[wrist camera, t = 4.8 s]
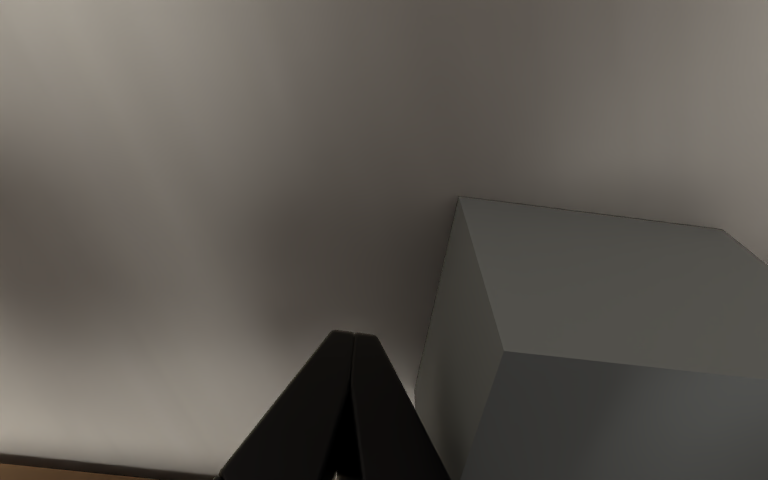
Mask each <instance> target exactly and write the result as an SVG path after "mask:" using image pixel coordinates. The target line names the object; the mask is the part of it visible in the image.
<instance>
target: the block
mask: <svg viewBox="0 0 768 480" xmlns="http://www.w3.org/2000/svg"><path fill="white" fill-rule="evenodd" d="M414 394H415V410H416V412H417V414H418V416H419V418H420V420H421V422H422V424H423V426H424V428H425V430H426V432H427V434H428V435H429V437H430V439H431V441H432V443H433V445H434V447H435V449H436V451H437V453H438V455H439V457H440V459H441V461H442V462H443V464H444V466H445V468H446V470H447V472H448V474H449V476H450V478H451V480H768V265H766V264H765V263H764V262H763V261H761V260H760V259H759V258H758V257H756V256H755V255H754V254H753V253H751V252H750V251H749V250H747V249H746V248H745V247H744V246H742V245H741V244H740V243H739V242H737V241H736V240H735V239H734V238H732V237H731V236H730V235H729V234H727V233H726V232H725V231H724V230H721V229H713V228H705V227H697V226H689V225H681V224H673V223H665V222H658V221H650V220H642V219H634V218H626V217H618V216H610V215H602V214H594V213H586V212H578V211H570V210H563V209H555V208H547V207H539V206H531V205H523V204H515V203H507V202H499V201H491V200H483V199H475V198H468V197H460V196H459V198H458V202H457V207H456V211H455V215H454V220H453V224H452V228H451V233H450V237H449V242H448V246H447V250H446V255H445V259H444V263H443V268H442V272H441V277H440V281H439V285H438V290H437V294H436V298H435V303H434V307H433V311H432V316H431V320H430V325H429V329H428V333H427V338H426V342H425V346H424V351H423V355H422V359H421V364H420V368H419V373H418V377H417V381H416V386H415V390H414Z"/></svg>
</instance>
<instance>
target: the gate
mask: <svg viewBox="0 0 768 480" xmlns="http://www.w3.org/2000/svg"><path fill="white" fill-rule="evenodd" d="M0 480H157V479H148V478H138V477H128V476H118V475H109V474H99V473H89V472H79V471H70V470H60V469H50V468H40V467H31V466H21V465H11V464H2V463H0Z"/></svg>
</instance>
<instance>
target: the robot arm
mask: <svg viewBox="0 0 768 480" xmlns="http://www.w3.org/2000/svg"><path fill="white" fill-rule="evenodd" d="M336 472H337V480H451V478H450V476H449V474H448V472H447V470H446V468H445V466H444V464H443V462H442V461H441V459H440V457H439V455H438V453H437V451H436V449H435V447H434V445H433V443H432V441H431V439H430V437H429V435H428V434H427V432H426V430H425V428H424V426H423V424H422V422H421V420H420V418H419V416H418V414H417V412H416V410H415V408H414V407H413V405H412V403H411V401H410V399H409V397H408V395H407V393H406V391H405V389H404V387H403V385H402V383H401V381H400V380H399V378H398V376H397V374H396V372H395V370H394V368H393V366H392V364H391V362H390V360H389V358H388V356H387V354H386V353H385V351H384V349H383V347H382V345H381V343H380V341H379V339H378V337H377V336H375V335H372V334H364V333H355V334H354V333H353V332H348V331H339V330H333V331H331V332H330V333H329V335H328V336H327V337H326V338H325V340H324V341H323V342H322V343H321V345H320V346H319V347H318V348H317V350H316V351H315V352H314V353H313V355H312V356H311V357H310V358H309V360H308V361H307V362H306V364H305V365H304V366H303V367H302V369H301V370H300V371H299V372H298V374H297V375H296V376H295V377H294V379H293V380H292V381H291V382H290V384H289V385H288V386H287V387H286V389H285V390H284V391H283V392H282V394H281V395H280V396H279V397H278V399H277V400H276V401H275V402H274V404H273V405H272V406H271V408H270V409H269V410H268V411H267V413H266V414H265V415H264V416H263V418H262V419H261V420H260V421H259V423H258V424H257V425H256V426H255V428H254V429H253V430H252V431H251V433H250V434H249V435H248V436H247V438H246V439H245V440H244V441H243V443H242V444H241V445H240V447H239V448H238V449H237V450H236V452H235V453H234V454H233V455H232V457H231V458H230V459H229V460H228V462H227V463H226V464H225V465H224V467H223V468H222V469H221V470H220V472H219V476H216V477H215V478H214V479H213V480H335V477H336Z"/></svg>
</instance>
